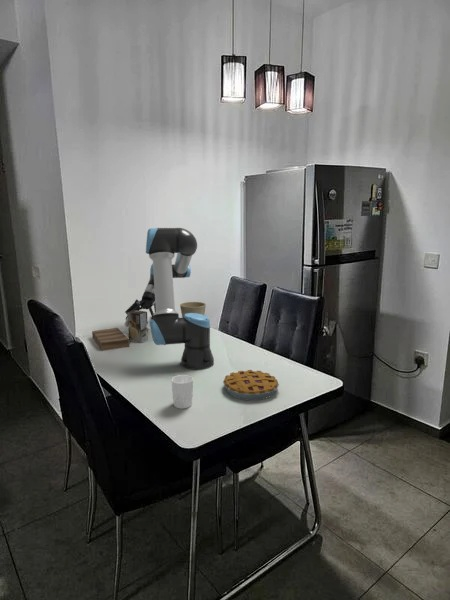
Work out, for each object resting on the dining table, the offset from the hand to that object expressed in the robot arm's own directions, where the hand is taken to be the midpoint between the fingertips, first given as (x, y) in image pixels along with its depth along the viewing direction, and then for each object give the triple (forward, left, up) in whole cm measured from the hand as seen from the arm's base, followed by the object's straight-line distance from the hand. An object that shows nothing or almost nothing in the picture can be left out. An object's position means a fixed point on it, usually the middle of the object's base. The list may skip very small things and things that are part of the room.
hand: (136, 327), depth 220 cm
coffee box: (+1, -1, -8) cm, 8 cm away
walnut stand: (-4, +13, -8) cm, 16 cm away
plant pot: (+23, -27, -8) cm, 36 cm away
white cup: (-70, -41, -8) cm, 81 cm away
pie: (-54, -65, -8) cm, 84 cm away
